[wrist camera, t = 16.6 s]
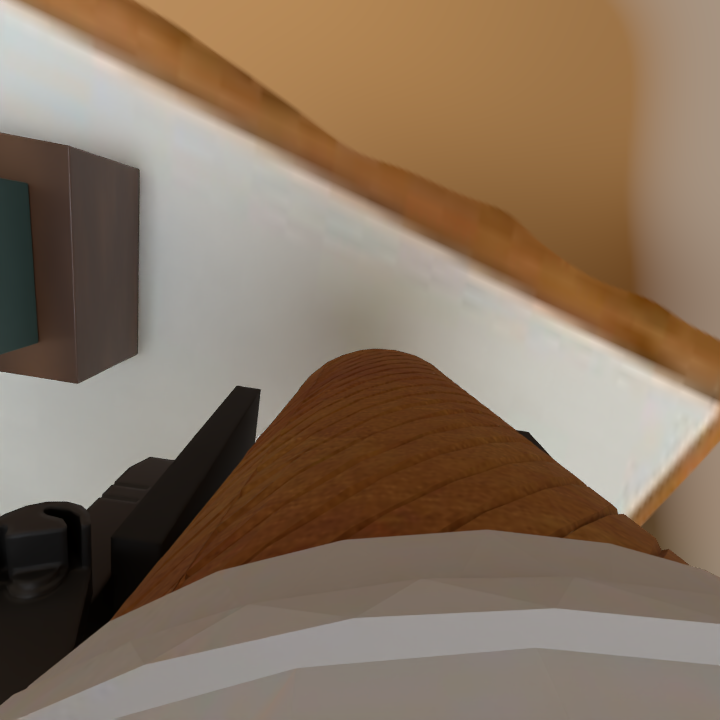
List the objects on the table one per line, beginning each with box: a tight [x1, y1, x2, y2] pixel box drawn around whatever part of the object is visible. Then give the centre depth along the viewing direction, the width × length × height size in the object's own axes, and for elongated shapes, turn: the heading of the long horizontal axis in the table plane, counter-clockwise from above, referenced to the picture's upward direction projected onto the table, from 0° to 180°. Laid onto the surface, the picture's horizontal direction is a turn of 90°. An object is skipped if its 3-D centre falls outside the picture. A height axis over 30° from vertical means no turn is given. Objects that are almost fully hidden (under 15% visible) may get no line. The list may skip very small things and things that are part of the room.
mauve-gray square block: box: [0, 133, 139, 384], centre depth 22 cm, size 12×12×6 cm
